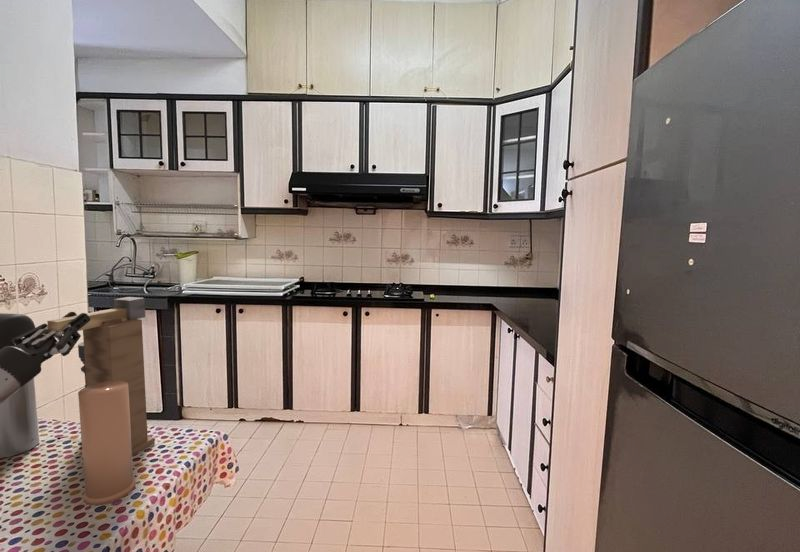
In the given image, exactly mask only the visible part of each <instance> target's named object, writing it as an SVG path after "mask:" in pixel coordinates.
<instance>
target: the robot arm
mask: <svg viewBox="0 0 800 552" xmlns="http://www.w3.org/2000/svg"><path fill="white" fill-rule="evenodd" d="M76 315H78V316H77V317H76V318H74V319H73V320H72V321H71V322H69V323H68V324H67V325H65V326H64V327H62V328H61V329H59V330H57V331H56V330H53V331H52V332H50V333H49V331H48V323H43V324H40V325H38V326H36V324H35V323H34V321H33V319H32V318H31V317H29V316H28V315H26V314H22V313H1V312H0V459H1V458H3V459H4V458H8V457H13V456H17V455H19V454H22V453H25V452H27V451H29V450H31V449H33V448H35V447H36V446H38V444H39V443H40V435H39V422H38V410H37V408H38V407H37V400H36V399H37V398H36V388H35V387H36V386H35V378H36V377H37V376H38V375H39V374H41V372H42V364H43V363H44V362H45V361H47V360H49V359H51V358H52V357H53V356H54V355H58V354H61V356H63V357H65V356H67V355H69V354H70V352H71V351H72V350H73V349H74V348H75V345H76V344H77V342H78V341H79V340H80V338H81V336H82V335H81V334H80V333H79V331H78V330H79V329H80V328H82V327H83V326H84V325H85V324H87V323H88V322H89V321H90V318H89V316H88V315H87V312H81V313H80V314H77V313H76V311H69V312H68V313H67V314H65V315H64V316H62V317H61V318H65V317H71V316H76ZM65 331H66V332H65ZM63 332H65V333H64V334H63V335H62V333H63Z"/></svg>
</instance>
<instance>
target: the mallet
mask: <svg viewBox="0 0 800 552" xmlns="http://www.w3.org/2000/svg"><path fill="white" fill-rule="evenodd" d="M113 305H114V306H113V307H114V308H109V309H103V310H97V311H93V312H88V313H87V312H86V314H87V315H88V316H89V318H90V321H89V322H88V323H87V324H85V325H84V326H83V327H82V328H80V329H79V330H78V331H77V332H79V331H83V330H85V329H90V328H94V327H99V326H102V322H104V321H108V320H113V319H118V318H122V321H126V320H135V319H143V318H146V301H145V298H144V297H136V296H135V297H134V296H125V297H120V298H114V299H113ZM78 315H79V314H77V315H76V316H71V317H65V318H62V317H60V318H55V319H50V320H47V321H46V322H47V323H46V324H47V325H48V331H49V333H50V332H52V331H53V330H56V331H57V330H59V329H61V328H62V327H64V326H65V325H67V324H68V323H69V322H71V321H72V320H73V319H74V318H76V317H77V316H78ZM65 332H66V331H65ZM65 332H63V333H62V336H63V335H64V333H65Z"/></svg>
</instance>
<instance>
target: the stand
mask: <svg viewBox="0 0 800 552" xmlns="http://www.w3.org/2000/svg"><path fill="white" fill-rule="evenodd" d="M82 336H83V338H82V339H83V342H84V355H85V370H86V385H87V386H90V385H93V384H97V383H102V382H108V381H124V382H127V383H128V390H129V408H130V426H131V444H132V458H133V457H134V456H136V455H137V454H139V453H141V452H143V451H144V450H146V449H148V448H150V447H151V446H153V445H155V444H156V443H155V442H156V441H155V437H153V436H148V421H147V419H148V418H147V417H148V416H147V401H146V399H147V396H146V381H145V379H146V377H145V357H144V356H145V355H144V339H143V320H142V319H141V318H139V319H135V320H126V321H122V318H118V319H113V320H108V321H104V322H102V326H99V327H94V328H90V329H85V330H82Z"/></svg>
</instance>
